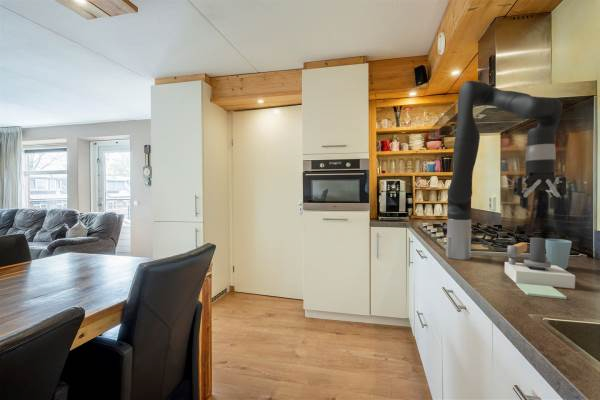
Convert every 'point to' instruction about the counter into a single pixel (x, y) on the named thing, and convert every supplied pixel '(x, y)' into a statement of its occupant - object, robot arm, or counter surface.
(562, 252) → the cup
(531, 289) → the pad
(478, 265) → the counter surface
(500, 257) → the counter surface
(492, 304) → the counter surface
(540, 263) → the plug
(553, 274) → the socket block
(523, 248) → the tan piece
